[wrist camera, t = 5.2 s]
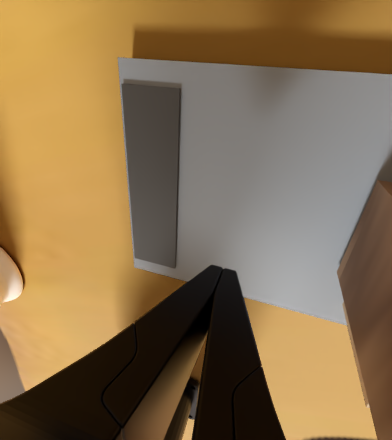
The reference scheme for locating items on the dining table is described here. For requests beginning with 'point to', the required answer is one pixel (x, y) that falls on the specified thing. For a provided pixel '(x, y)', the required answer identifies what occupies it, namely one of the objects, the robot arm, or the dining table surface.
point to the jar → (9, 278)
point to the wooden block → (372, 302)
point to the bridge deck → (253, 173)
